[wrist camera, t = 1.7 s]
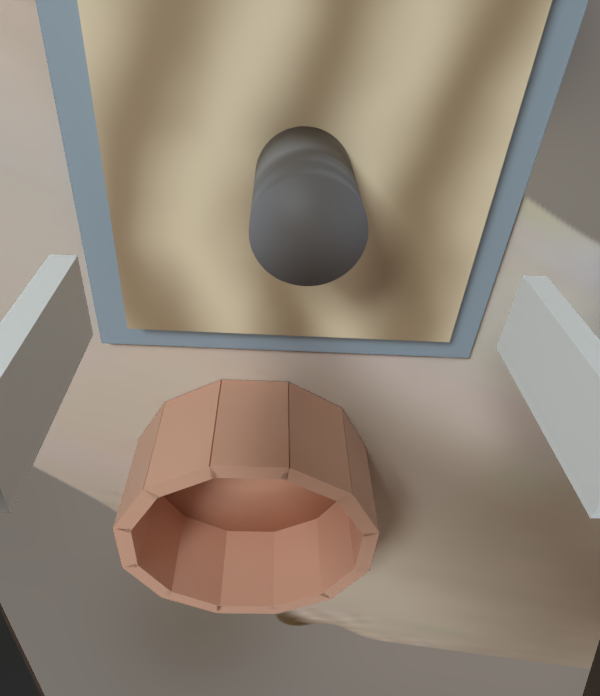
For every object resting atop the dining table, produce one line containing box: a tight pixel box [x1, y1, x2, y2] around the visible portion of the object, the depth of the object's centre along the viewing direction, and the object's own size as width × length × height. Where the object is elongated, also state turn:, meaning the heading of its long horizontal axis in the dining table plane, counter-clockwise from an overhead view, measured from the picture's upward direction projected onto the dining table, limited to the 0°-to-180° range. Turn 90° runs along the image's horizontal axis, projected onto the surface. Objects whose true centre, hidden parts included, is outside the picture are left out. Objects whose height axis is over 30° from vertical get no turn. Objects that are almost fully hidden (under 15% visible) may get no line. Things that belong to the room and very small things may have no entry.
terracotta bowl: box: [113, 380, 380, 614], centre depth 36 cm, size 16×16×7 cm
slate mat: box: [36, 0, 589, 358], centre depth 26 cm, size 22×22×1 cm
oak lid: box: [77, 0, 552, 342], centre depth 22 cm, size 18×18×7 cm
